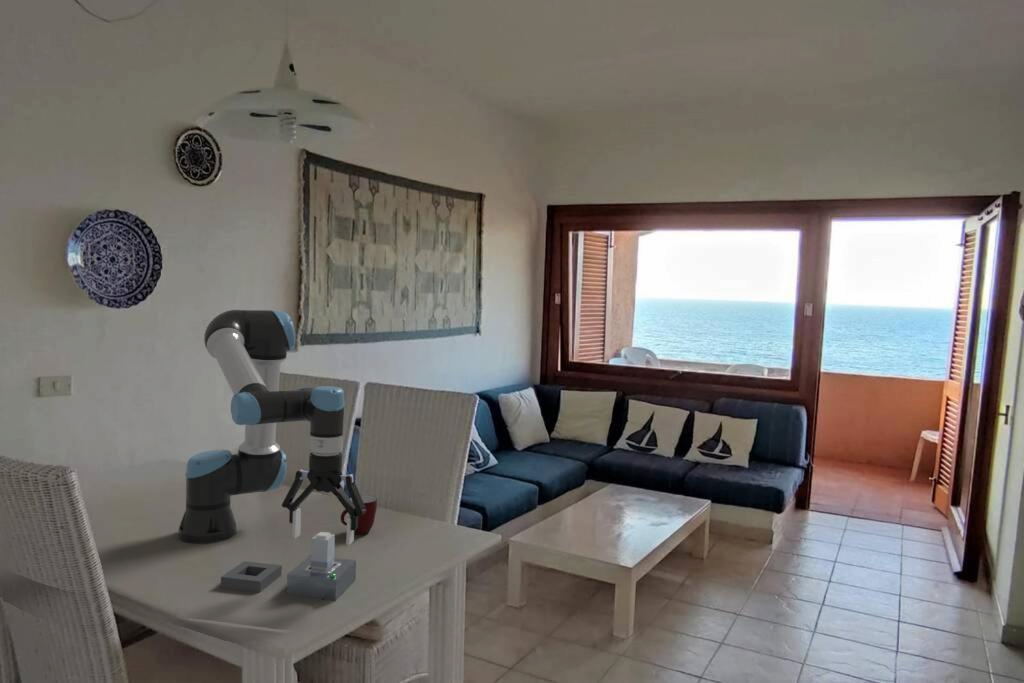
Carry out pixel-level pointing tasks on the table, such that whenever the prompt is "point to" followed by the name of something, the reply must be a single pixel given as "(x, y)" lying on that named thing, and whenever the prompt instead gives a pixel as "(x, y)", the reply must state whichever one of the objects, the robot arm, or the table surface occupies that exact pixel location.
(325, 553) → the plug
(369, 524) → the mug
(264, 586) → the holster
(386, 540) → the table surface
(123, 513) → the table surface
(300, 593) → the port
